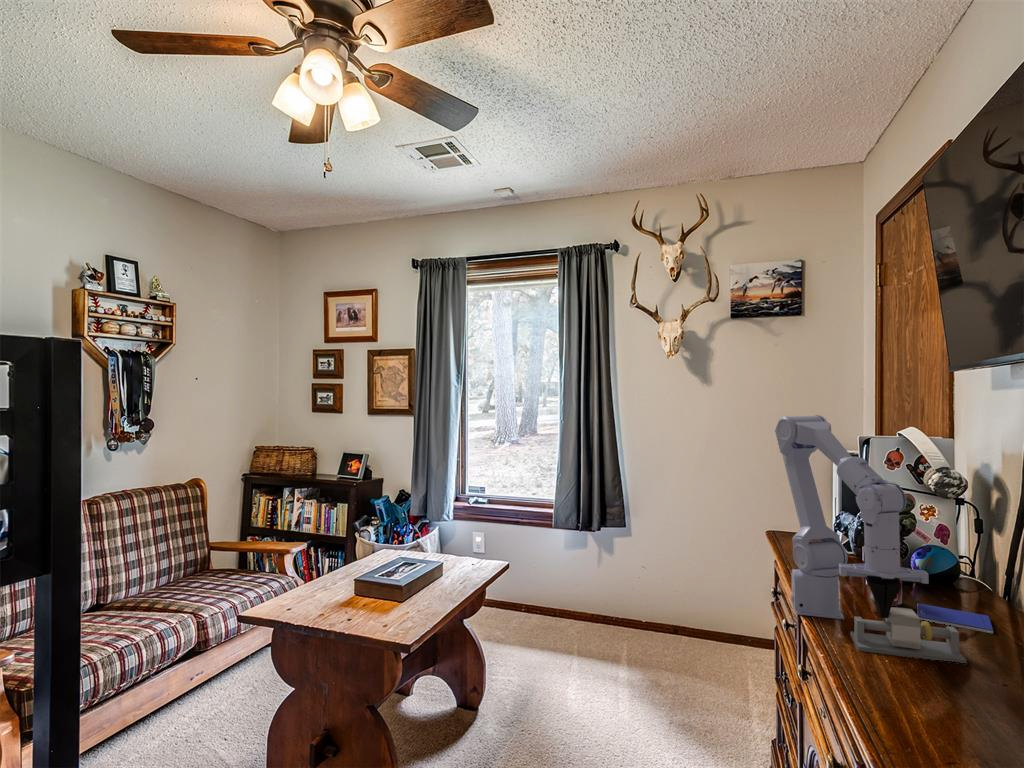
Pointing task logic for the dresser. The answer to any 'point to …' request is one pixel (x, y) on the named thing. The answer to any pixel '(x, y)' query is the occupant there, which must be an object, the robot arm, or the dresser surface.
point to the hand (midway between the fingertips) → (883, 615)
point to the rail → (884, 646)
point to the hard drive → (954, 618)
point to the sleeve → (904, 628)
